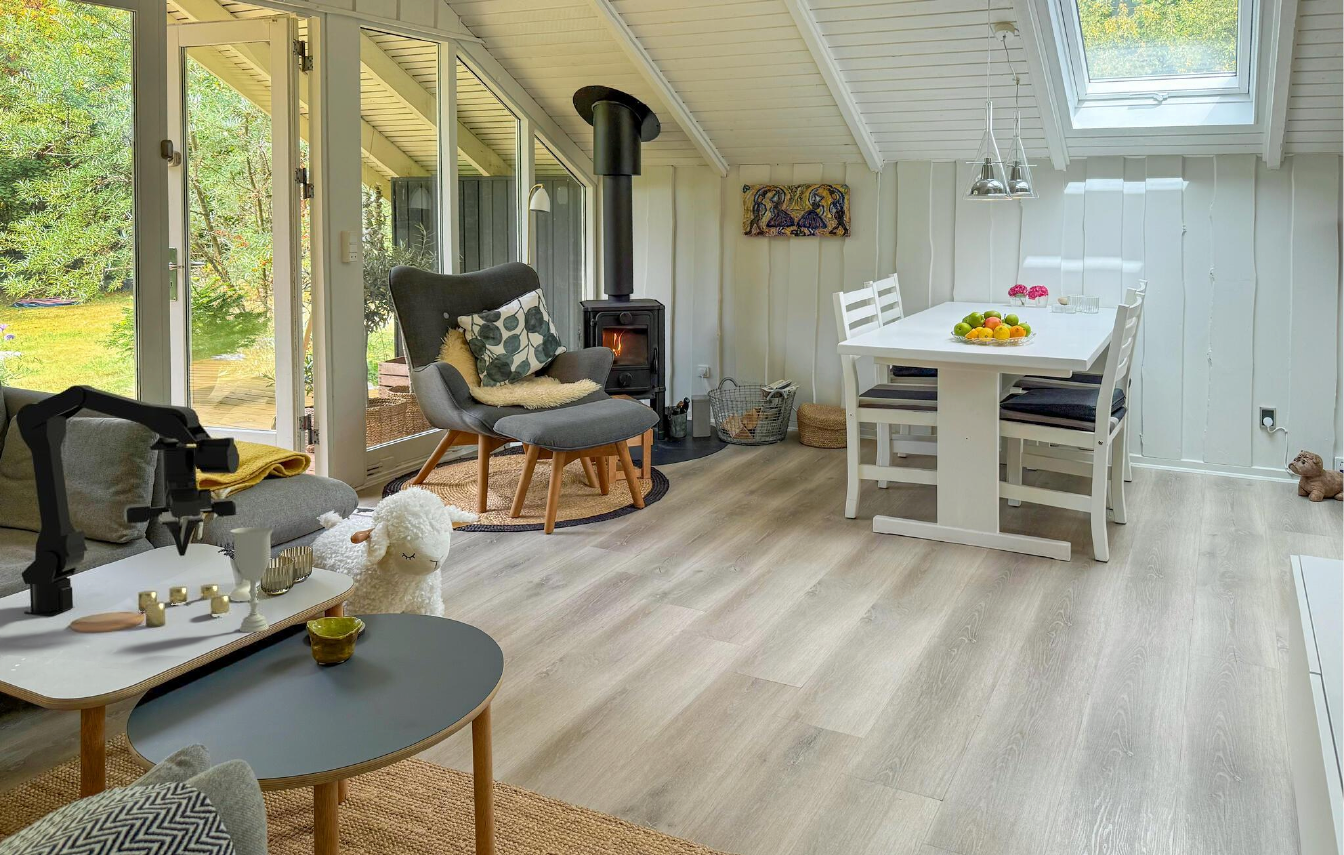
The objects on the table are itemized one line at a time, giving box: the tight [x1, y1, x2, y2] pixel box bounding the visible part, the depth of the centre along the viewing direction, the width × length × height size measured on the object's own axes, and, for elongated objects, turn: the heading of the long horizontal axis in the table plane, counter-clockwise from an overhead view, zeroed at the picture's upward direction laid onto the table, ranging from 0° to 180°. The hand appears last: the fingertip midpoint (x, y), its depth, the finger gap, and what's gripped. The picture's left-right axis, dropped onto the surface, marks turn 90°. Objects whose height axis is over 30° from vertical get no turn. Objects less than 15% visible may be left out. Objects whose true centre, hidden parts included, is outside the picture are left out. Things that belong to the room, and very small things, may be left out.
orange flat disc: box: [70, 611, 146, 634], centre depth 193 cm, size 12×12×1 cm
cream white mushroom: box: [229, 578, 257, 600], centre depth 208 cm, size 6×6×8 cm
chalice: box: [230, 526, 274, 633], centre depth 190 cm, size 7×7×18 cm
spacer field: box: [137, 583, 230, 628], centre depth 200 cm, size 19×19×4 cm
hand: (182, 555), depth 200 cm, fingers closed
